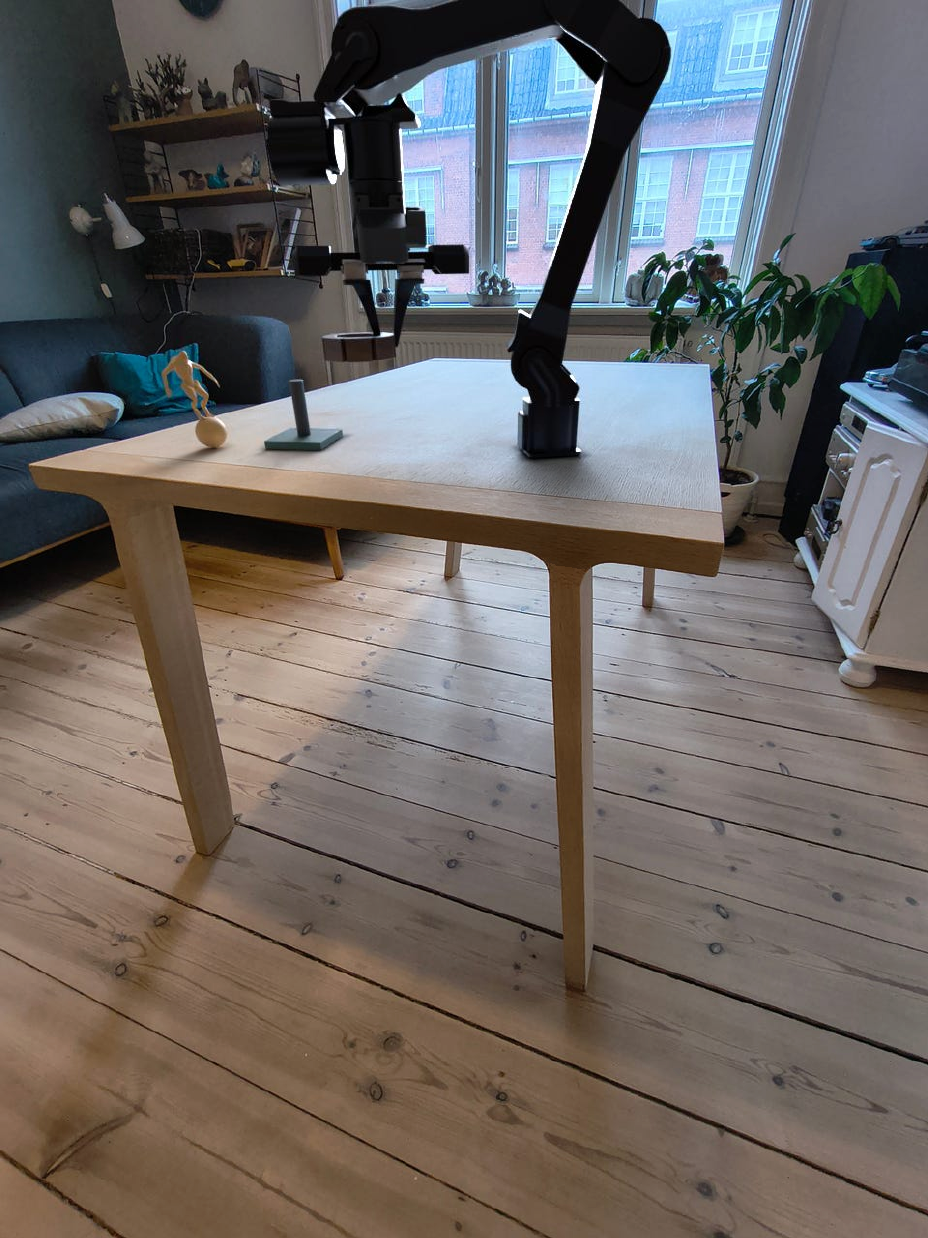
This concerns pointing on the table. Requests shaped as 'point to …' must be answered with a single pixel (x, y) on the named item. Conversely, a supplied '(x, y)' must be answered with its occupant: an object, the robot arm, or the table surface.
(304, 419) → the peg stand
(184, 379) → the figurine
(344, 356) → the ring
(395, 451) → the table surface
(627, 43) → the robot arm
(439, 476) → the table surface
